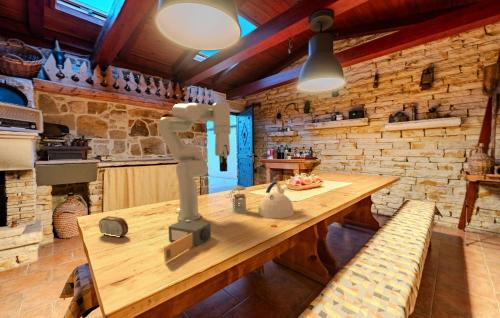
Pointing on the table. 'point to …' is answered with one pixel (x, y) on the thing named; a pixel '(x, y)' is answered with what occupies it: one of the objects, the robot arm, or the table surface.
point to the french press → (239, 200)
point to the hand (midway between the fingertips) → (223, 171)
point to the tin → (113, 226)
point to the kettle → (275, 204)
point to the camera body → (190, 231)
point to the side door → (178, 247)
